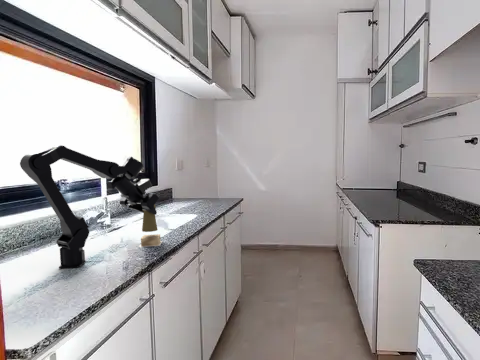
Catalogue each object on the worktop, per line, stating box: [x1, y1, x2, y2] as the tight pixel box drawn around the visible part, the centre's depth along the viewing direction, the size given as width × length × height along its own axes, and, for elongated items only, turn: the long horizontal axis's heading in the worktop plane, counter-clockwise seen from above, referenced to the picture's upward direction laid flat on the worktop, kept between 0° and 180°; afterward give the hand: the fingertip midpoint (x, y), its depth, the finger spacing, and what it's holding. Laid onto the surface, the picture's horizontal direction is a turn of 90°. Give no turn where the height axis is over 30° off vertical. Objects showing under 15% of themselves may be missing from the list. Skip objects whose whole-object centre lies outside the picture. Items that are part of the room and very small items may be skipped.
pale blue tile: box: [138, 240, 163, 248], centre depth 146 cm, size 12×11×1 cm
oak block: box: [140, 233, 162, 247], centre depth 146 cm, size 6×6×3 cm
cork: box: [141, 203, 158, 233], centre depth 145 cm, size 6×6×11 cm
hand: (151, 213), depth 146 cm, fingers closed on cork, 5 cm apart
